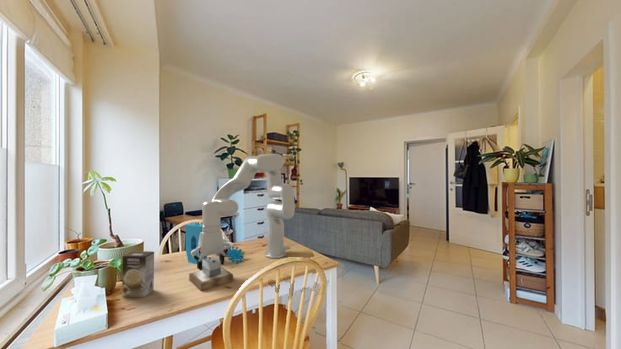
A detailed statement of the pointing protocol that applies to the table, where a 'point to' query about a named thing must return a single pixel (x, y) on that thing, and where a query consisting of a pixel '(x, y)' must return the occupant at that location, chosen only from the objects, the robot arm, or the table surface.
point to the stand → (210, 279)
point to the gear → (235, 254)
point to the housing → (211, 266)
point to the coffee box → (138, 274)
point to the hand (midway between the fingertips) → (211, 266)
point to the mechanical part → (226, 241)
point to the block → (192, 240)
